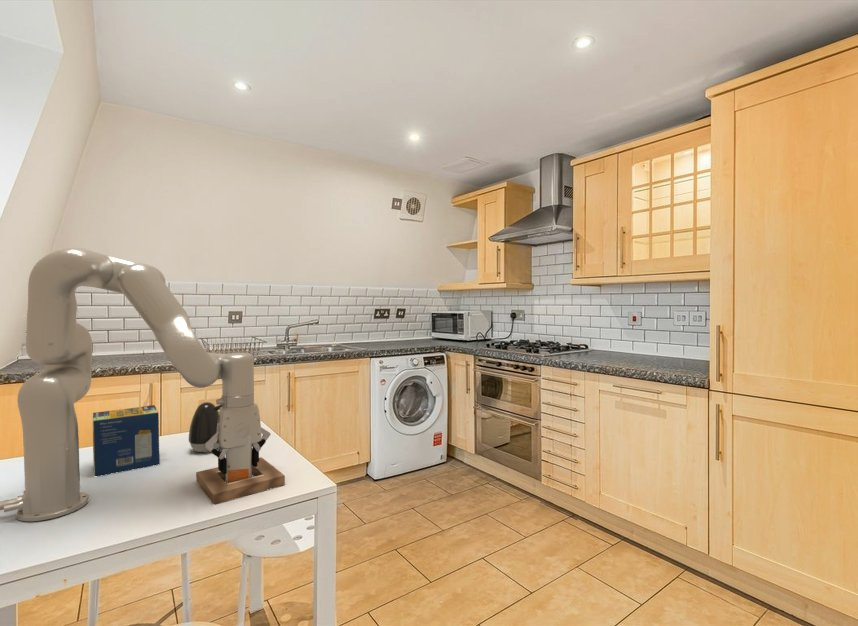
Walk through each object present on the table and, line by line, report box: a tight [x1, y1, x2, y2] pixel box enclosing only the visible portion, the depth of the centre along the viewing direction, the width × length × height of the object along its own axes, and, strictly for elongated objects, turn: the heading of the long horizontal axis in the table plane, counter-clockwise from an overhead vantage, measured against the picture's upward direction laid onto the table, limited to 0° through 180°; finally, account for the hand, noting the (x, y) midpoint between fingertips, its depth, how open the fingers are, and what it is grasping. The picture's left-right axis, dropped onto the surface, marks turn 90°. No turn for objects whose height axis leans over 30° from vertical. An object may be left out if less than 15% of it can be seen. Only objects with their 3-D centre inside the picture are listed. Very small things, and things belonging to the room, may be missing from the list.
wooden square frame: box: [195, 456, 286, 505], centre depth 115 cm, size 17×17×3 cm
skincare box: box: [225, 437, 253, 484], centre depth 114 cm, size 6×4×12 cm
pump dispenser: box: [188, 401, 223, 453], centre depth 140 cm, size 10×10×15 cm
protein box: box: [92, 404, 160, 477], centre depth 127 cm, size 10×15×16 cm
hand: (239, 468), depth 114 cm, fingers closed on skincare box, 7 cm apart
